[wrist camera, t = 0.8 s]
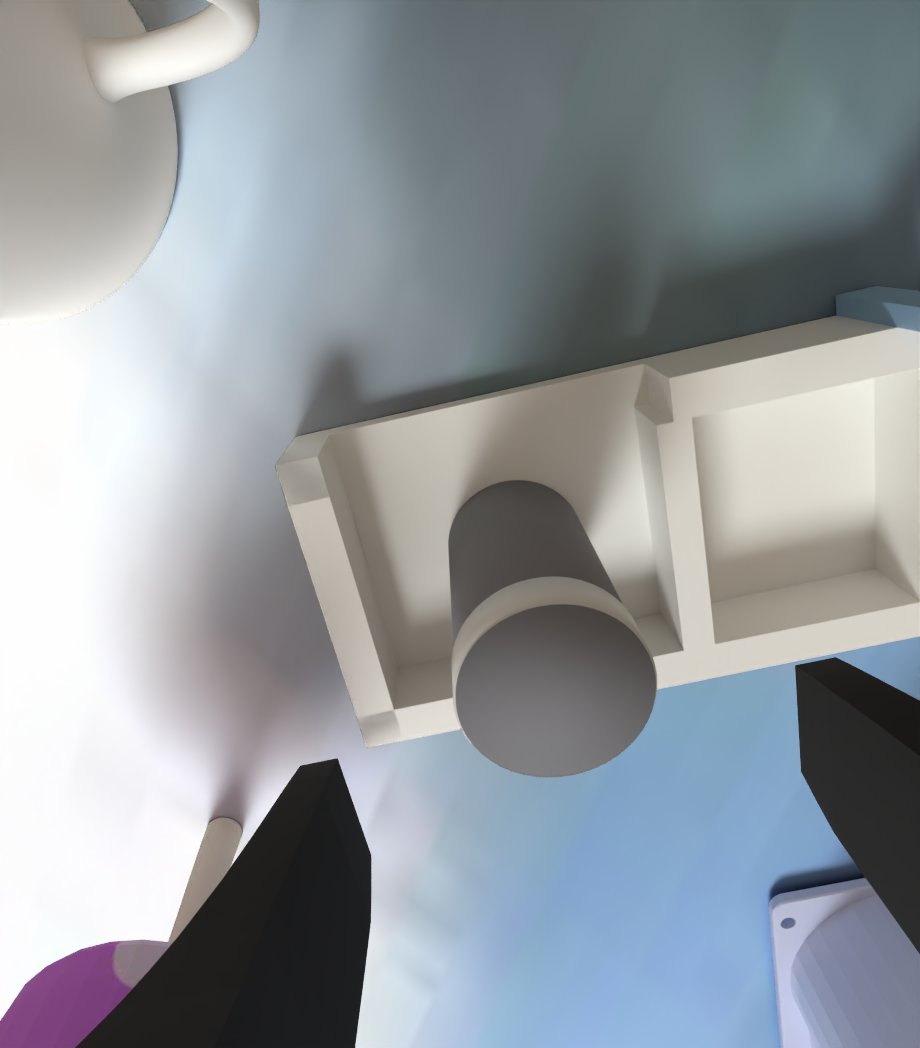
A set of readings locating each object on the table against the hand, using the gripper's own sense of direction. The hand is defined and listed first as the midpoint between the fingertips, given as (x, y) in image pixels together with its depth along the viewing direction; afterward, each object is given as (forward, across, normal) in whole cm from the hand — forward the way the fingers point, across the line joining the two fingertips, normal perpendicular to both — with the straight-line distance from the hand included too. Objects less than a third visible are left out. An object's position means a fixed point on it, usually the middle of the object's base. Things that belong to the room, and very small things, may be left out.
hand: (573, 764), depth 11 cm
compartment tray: (+9, -7, 0) cm, 12 cm away
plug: (+9, 0, 0) cm, 9 cm away
